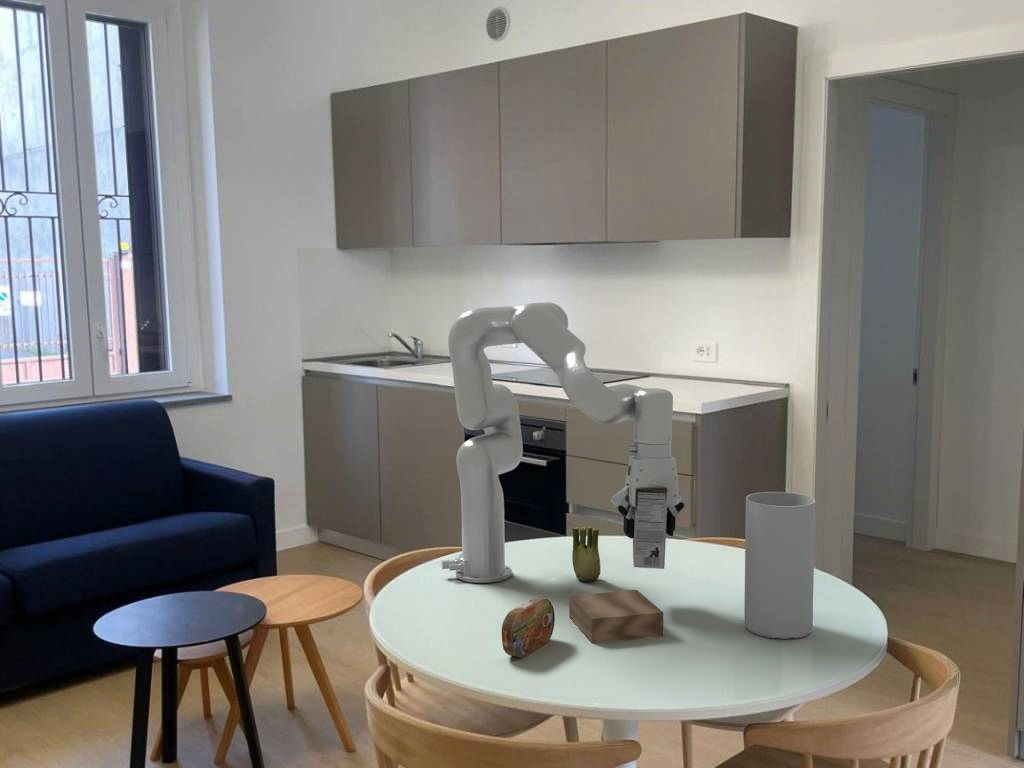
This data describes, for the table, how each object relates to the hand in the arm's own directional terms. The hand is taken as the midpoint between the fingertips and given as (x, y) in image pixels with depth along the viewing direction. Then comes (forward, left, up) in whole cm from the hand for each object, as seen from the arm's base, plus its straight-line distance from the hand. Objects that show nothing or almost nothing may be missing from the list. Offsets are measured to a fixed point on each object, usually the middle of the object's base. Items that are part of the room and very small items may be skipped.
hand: (649, 535), depth 206 cm
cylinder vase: (+18, -21, -15) cm, 31 cm away
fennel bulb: (-6, +19, -15) cm, 25 cm away
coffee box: (0, 0, -6) cm, 6 cm away
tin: (-30, -17, -15) cm, 38 cm away
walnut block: (-11, -11, -15) cm, 22 cm away
